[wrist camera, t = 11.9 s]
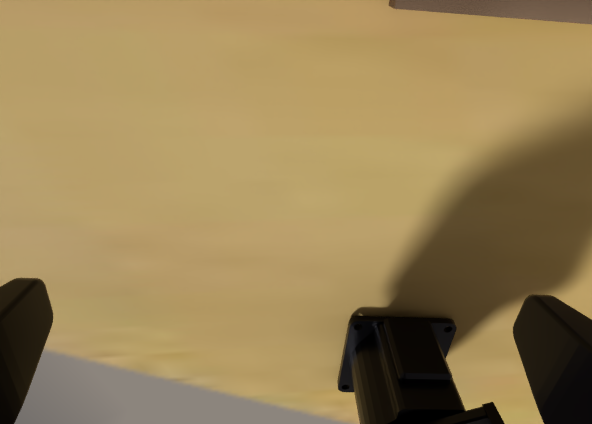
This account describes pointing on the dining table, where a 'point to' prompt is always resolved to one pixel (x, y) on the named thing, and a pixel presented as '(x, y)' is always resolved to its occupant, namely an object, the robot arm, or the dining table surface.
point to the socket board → (507, 8)
